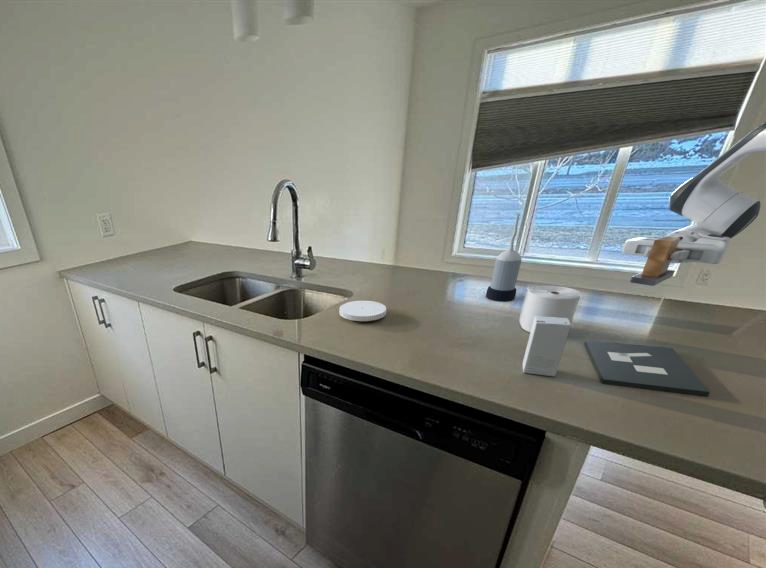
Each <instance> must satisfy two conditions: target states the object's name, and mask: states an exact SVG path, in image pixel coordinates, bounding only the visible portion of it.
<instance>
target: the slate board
mask: <svg viewBox="0 0 766 568" xmlns="http://www.w3.org/2000/svg"><path fill="white" fill-rule="evenodd" d="M583 345H584V347H585V350H586V351H587V354H588V356H589V359H590V361H591V363H592V364H593V368H594V369H595V371H596V374H597V376H598V379H599V380H600V383H601V384H604V385H612V386H621V387H627V388H628V387H630V388H637V389H645V390H654V391H660V392H669V393H678V394H684V395H685V394H686V395H693V396H700V397H701V396H702V397H708V396H709V395H710V393H711V391H710V390H709V389H708V387H706V385H705V384H704V383H703V382H702V381H701V379H700V378H699V377H698V376H697V375H696V374H695V372H693V370H692V369H691V368H690V366H688V364H687V363H686V362H685V361H684V360H683V358H682V357H681V356H680V354H678V353H677V352H676V350H675V349H674V348H673V347H665V346H655V345H643V344H632V343H620V342H611V341H599V340H587V339H586V340H584V342H583Z"/></svg>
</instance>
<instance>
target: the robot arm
mask: <svg viewBox="0 0 766 568" xmlns="http://www.w3.org/2000/svg"><path fill="white" fill-rule="evenodd" d="M761 152H766V121H764V122H763V123H761V124H760V125H759V126H757V127H755V128H754V129H753V130H752V131H750V132H749V133H748V134H746V135H745V136H743V137H742V138H741V139H740V140H738V141H737V142H736V143H735V144H733V145H732V146H731V147H730V148H728V149H727V150H726V151H725V152H723V153H722V154H721V155H719V157H717V158H716V159H714V160H713V161H712V162H711V163H710V164H708V165H707V166H706V167H704V168H703V169H702V170H701V171H700V172H698V173H697V174H696V175H694V176H693V177H691V178H689V179H688V180H686V181H685V182H684V183H682V184H680V186H678V187H677V188H676V189H675V190H674V191H673V192H672V193H671V195H670V196H669V198H668V207H669V208H668V209H669V211H671V212H672V213H674V214H676V215H679V216H681V217H685V218H687V219H688V220H690V221H692V222H694V224H691V225H687V226H685V227H683V228H680V229H678V230H674V231H672V232H670V233H669V234H667V235H665V236H664V237H673V238H680V241H679V243H678V245H677V248H676V250H675V252H671V253H670V254H669V257H668V260H671V262H670V264H682V263H684V264H685V263H686V264H688V263H702V264H711V265H718V264H720V263H721V262H722V261H723V259H724V257H725V255H726V253H727V251H728V248H729V247H730V241H731V239H732V238H734V237H735V236H737V235H738V234H741V232H742V231H744V230H745V229H746V228H748V227H749V226H750V225H751V224H752V223H753V222H754V221H755V220H756V219H757V217H758V216H759V214H760V210H761V201H760V200H758V199H757V198H755V197H752V195H749V194H747V193H745V192H743V191H740V190H738V189H736V188H734V187H732V186H730V185H728V184H726V183H723V181H722V180H721V179H720V178H721V177H722V176H723V175H724V174H725V173H727V172H728V171H730V170H731V169H732V168H733V167H735V166H736V165H738V164H739V163H740V162H741V161H742V160H744V159H745V158H747V157H749V155H751V154H755V153H761ZM656 239H657V238H653V237H636V238H630V239H627V240H625V242H624V244H623V246H622V249H621V253H622V254H623V255H629V256H630V255H631V256H637V257H638V256H639V257H644V258H648V256H649V254H650V251H651V249H652V246H653V244H654V241H655V240H656Z"/></svg>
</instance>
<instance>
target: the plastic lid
mask: <svg viewBox="0 0 766 568" xmlns="http://www.w3.org/2000/svg"><path fill="white" fill-rule="evenodd" d="M338 314H339V316H340V317H342V318H344V319H346V320H349V321H355V322H370V321H376V320H380V319H382V318H384V317H385V316H386V315H387V306H386V305H385V304H383V303H381V302H378V301H373V300H354V301H353V300H352V301H347V302H345V303H343V304H341V305H340V306H339V311H338Z"/></svg>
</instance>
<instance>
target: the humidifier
mask: <svg viewBox="0 0 766 568" xmlns="http://www.w3.org/2000/svg"><path fill="white" fill-rule="evenodd" d="M520 215H521V213H516V216H515V221H514V226H513V233H512V235H511V238H510V241H509V247H508V249H507V250H504V251H503V252H501V253H499V255H497V257H496V259H495V263H494V268H493V271H492V276H491V281H490V285H488V287H487V289H486V292H485V297H486V299H488V300H490V301H493V302H503V303H504V302H511V301H514V300H515V299H516V295H517V288H516V284H517V281H518V277H519V272H520V268H521V265H522V256H521V254H520V253H519V252H518V251H517V250H518V248H519V246H517V247H516V249H514V245H515V244H514V243H515V238H516V236H517V234H518V225H519V221H520ZM525 217H526V216H524V218H523V221H522V226H521V227H520V230H522V229H523V226H524V222H525ZM520 233H521V234H520V236H519V239H518V243H517V245H519V244H520V240H521V238H522V235H523V233H522V232H520Z"/></svg>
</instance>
